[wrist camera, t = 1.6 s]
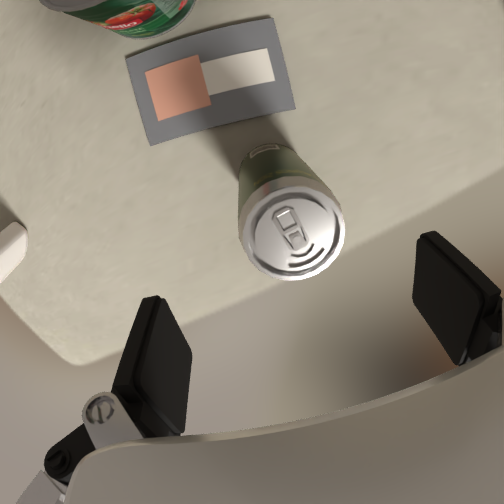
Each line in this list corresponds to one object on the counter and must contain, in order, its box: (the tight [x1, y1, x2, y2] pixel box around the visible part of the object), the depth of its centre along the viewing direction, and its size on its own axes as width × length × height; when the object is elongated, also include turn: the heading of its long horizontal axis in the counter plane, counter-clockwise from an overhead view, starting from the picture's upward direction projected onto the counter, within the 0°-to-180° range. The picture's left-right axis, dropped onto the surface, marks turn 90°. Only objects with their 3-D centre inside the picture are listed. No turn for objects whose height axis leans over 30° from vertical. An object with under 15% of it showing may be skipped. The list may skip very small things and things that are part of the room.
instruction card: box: [126, 18, 296, 146], centre depth 20 cm, size 12×8×1 cm, turn 103°
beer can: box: [238, 144, 345, 280], centre depth 19 cm, size 5×5×12 cm
